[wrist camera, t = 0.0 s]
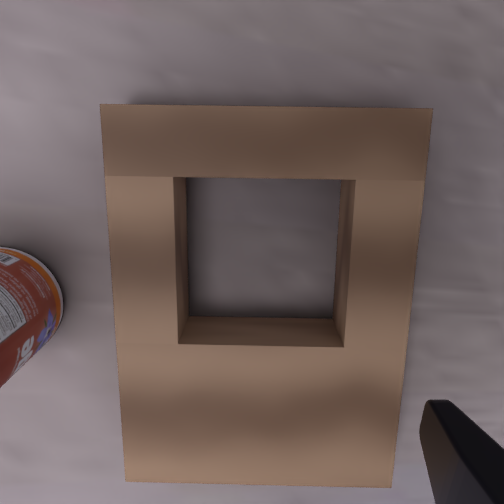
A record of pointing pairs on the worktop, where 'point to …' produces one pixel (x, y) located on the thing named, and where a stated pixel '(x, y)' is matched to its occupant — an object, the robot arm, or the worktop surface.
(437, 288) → the worktop surface
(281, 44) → the worktop surface
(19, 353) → the pill bottle
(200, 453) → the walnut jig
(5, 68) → the worktop surface
